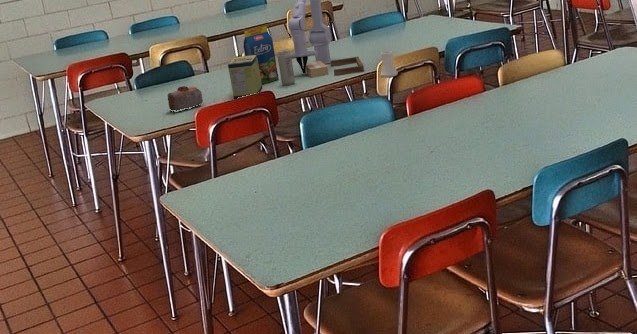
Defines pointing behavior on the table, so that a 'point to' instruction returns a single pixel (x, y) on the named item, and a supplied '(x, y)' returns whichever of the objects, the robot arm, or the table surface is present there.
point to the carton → (316, 69)
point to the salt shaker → (388, 65)
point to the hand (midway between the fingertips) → (304, 72)
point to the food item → (184, 98)
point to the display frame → (349, 69)
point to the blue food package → (262, 52)
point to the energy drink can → (286, 67)
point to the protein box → (245, 75)
